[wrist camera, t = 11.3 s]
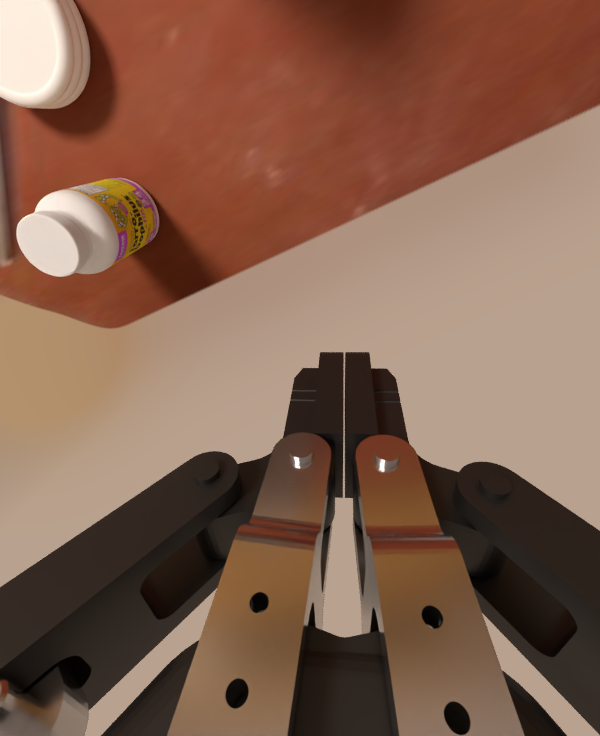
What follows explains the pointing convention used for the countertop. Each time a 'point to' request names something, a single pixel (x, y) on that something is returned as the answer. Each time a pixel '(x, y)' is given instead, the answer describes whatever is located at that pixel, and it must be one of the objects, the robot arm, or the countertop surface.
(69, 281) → the countertop surface
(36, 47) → the white round lidded container
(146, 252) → the countertop surface
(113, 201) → the supplement bottle
